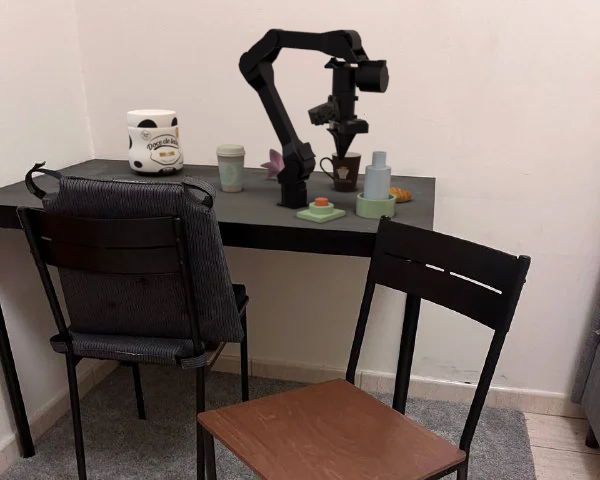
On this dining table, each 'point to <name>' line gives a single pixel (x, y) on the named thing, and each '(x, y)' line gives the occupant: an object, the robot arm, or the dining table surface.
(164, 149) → the doce de leite jar
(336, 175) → the coffee mug
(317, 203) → the button
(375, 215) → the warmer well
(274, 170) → the lily
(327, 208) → the panel
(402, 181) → the dining table surface
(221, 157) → the coffee cup
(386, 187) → the bottle
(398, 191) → the pastry
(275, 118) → the robot arm
